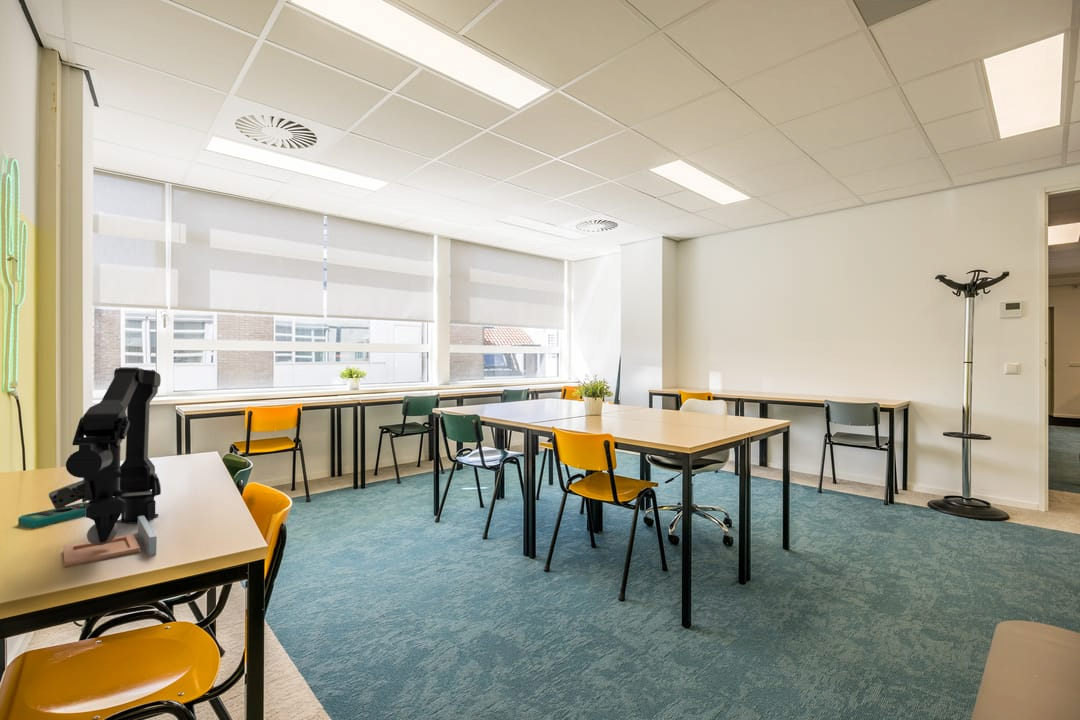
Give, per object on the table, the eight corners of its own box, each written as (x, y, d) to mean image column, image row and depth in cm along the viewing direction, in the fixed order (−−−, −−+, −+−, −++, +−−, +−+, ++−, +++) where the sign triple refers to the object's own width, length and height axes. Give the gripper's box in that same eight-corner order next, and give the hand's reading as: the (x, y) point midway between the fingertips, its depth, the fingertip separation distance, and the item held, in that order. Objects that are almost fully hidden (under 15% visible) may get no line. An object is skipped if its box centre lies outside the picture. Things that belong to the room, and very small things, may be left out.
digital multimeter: (102, 513, 138) (103, 503, 138) (34, 530, 124) (34, 518, 124) (85, 511, 140) (85, 500, 140) (16, 527, 126) (16, 515, 126)
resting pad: (63, 551, 110) (63, 546, 110) (133, 538, 118) (133, 533, 118) (64, 567, 101) (64, 562, 101) (139, 552, 110) (140, 547, 110)
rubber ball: (80, 548, 107) (80, 525, 107) (100, 540, 112) (101, 518, 112) (103, 548, 107) (103, 525, 107) (122, 540, 112) (123, 518, 112)
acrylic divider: (137, 532, 122) (137, 516, 122) (143, 531, 123) (143, 515, 123) (149, 556, 108) (149, 537, 108) (156, 554, 109) (156, 536, 109)
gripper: (52, 466, 111) (50, 536, 111) (52, 481, 98) (51, 561, 98) (117, 460, 119) (116, 525, 119) (126, 473, 105) (124, 546, 105)
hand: (102, 538), depth 110 cm, fingers closed on rubber ball, 5 cm apart
